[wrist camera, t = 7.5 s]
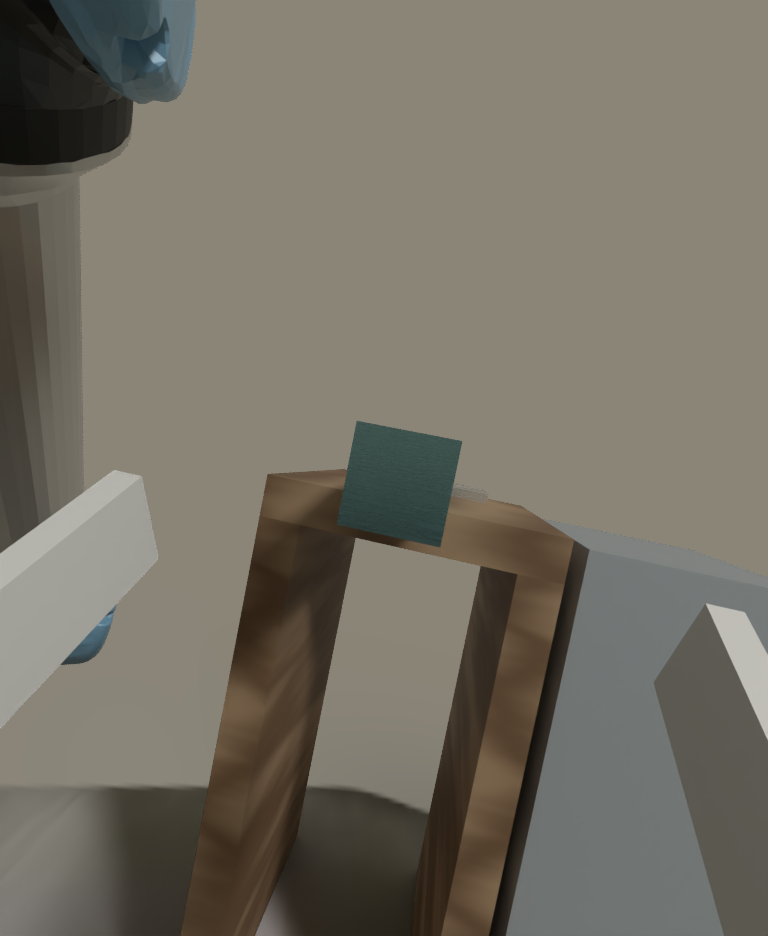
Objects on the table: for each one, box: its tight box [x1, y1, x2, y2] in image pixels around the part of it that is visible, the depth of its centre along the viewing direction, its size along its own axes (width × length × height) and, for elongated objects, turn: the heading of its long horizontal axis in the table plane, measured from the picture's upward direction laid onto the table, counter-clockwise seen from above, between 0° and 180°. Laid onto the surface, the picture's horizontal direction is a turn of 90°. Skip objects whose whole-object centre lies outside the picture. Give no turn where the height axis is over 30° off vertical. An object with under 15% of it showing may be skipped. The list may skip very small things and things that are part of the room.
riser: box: [180, 469, 574, 936], centre depth 30 cm, size 14×16×30 cm
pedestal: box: [489, 519, 768, 936], centre depth 27 cm, size 11×13×30 cm
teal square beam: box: [337, 421, 488, 547], centre depth 25 cm, size 8×26×3 cm, turn 172°
